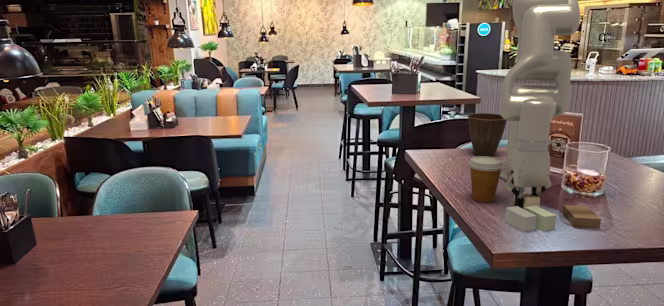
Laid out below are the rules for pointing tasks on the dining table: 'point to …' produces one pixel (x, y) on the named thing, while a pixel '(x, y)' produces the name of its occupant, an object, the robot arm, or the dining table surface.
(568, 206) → the walnut base
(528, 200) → the beech brick
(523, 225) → the grey brick
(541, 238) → the dining table surface
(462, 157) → the dining table surface
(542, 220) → the sage brick
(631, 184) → the dining table surface
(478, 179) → the disposable coffee cup
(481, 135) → the plant pot
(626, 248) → the dining table surface
